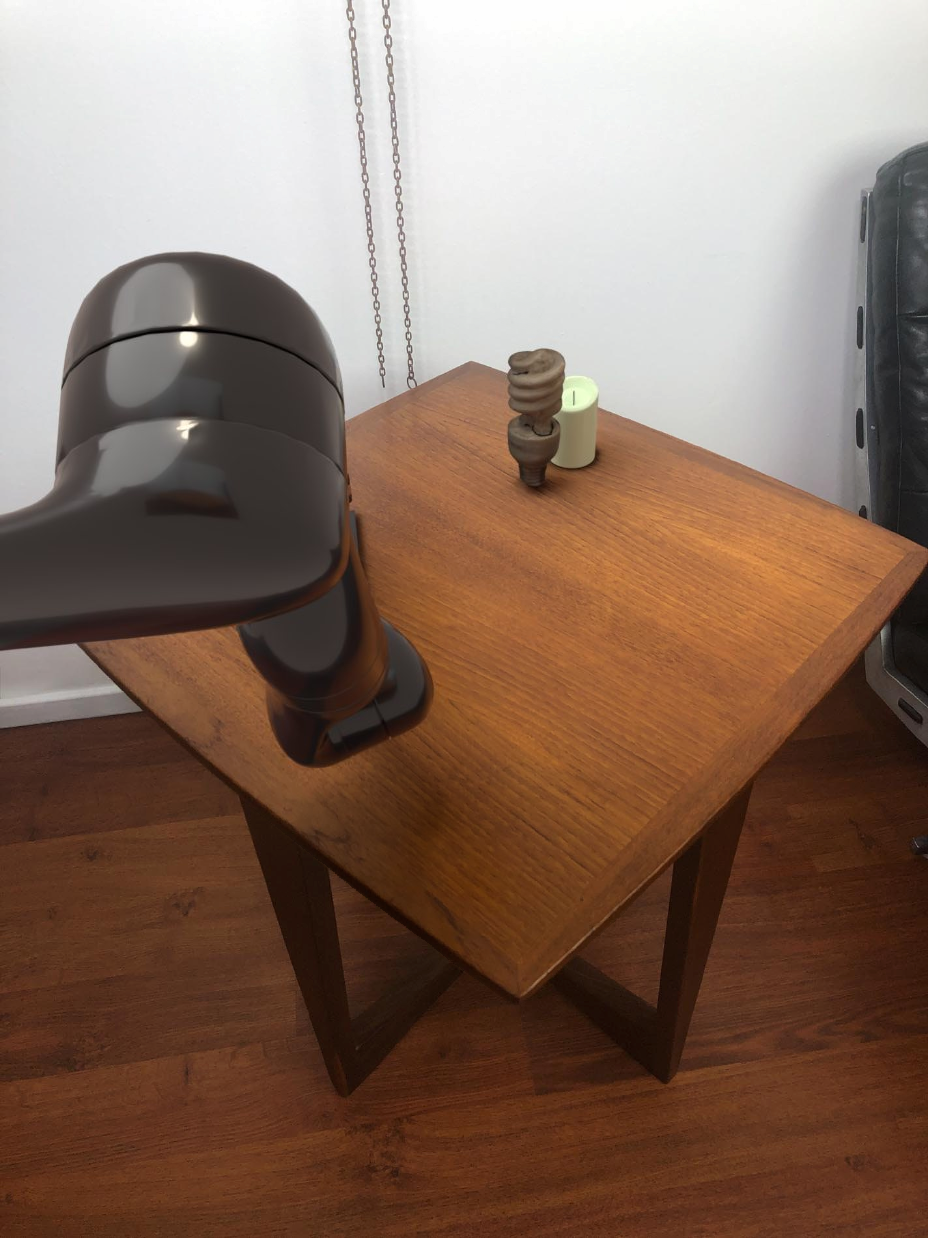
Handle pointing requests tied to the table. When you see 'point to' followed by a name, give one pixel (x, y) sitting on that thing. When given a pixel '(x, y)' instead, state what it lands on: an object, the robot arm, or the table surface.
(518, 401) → the light bulb
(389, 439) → the table surface
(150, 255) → the robot arm
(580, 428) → the candle
